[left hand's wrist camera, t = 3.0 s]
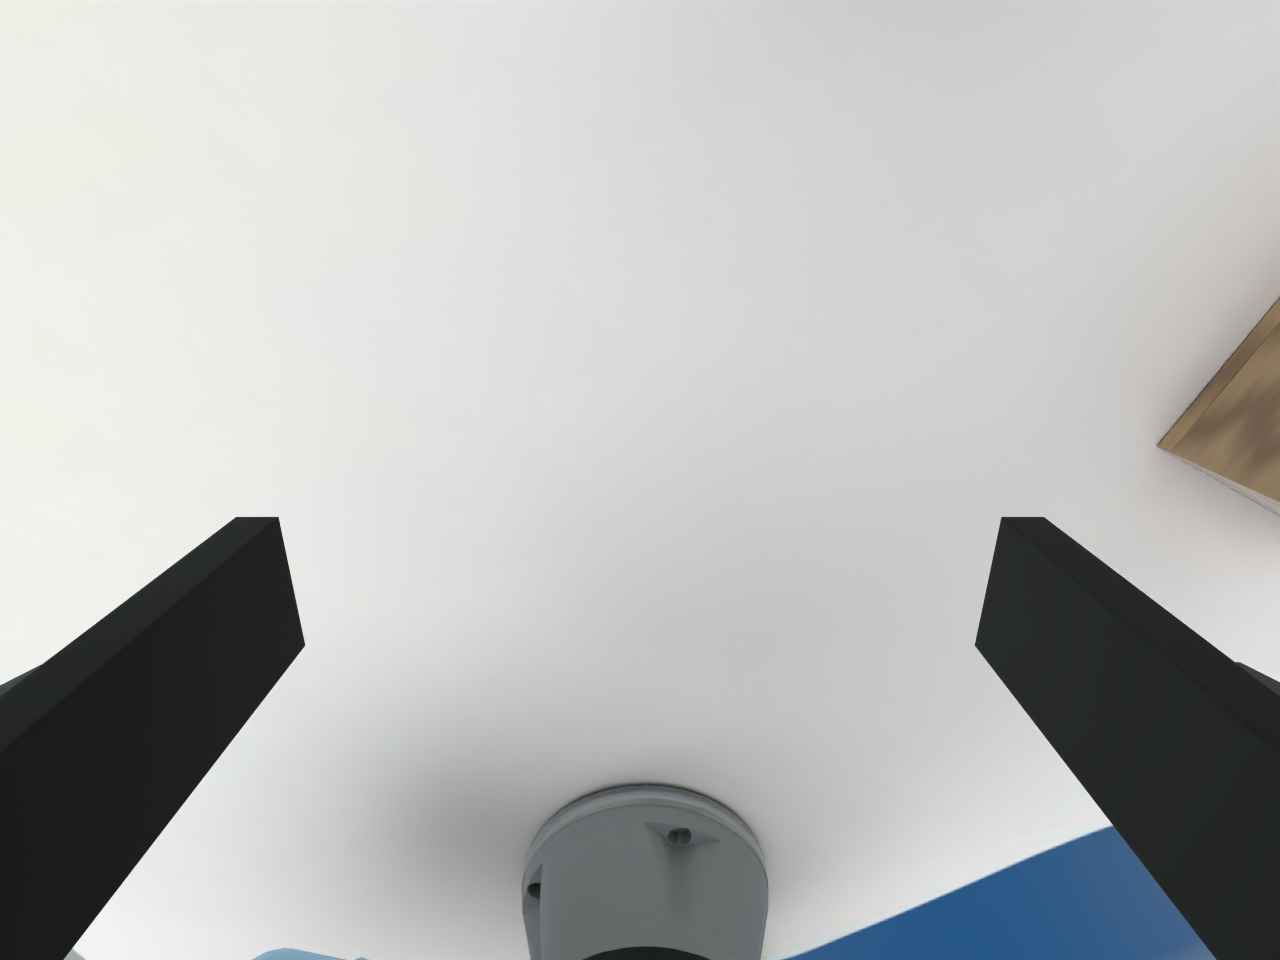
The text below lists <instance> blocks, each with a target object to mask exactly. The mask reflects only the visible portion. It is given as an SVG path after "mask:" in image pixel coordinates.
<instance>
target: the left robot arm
mask: <svg viewBox="0 0 1280 960" xmlns="http://www.w3.org/2000/svg"><path fill="white" fill-rule="evenodd" d="M304 646H305V642H304V637H303V633H302V628H301V623H300V618H299V613H298V609H297V604H296V599H295V594H294V589H293V585H292V580H291V575H290V570H289V565H288V561H287V556H286V551H285V546H284V541H283V537H282V532H281V527H280V522H279V517H236V518H234V519H233V520H232V521H230V522H229V523H228V524H226V525H225V526H224V527H223V528H221V529H220V530H219V531H217V532H216V533H215V534H213V535H212V536H211V537H209V538H208V539H207V540H205V541H204V542H203V543H201V544H200V545H199V546H198V547H196V548H195V549H194V550H192V551H191V552H190V553H188V554H187V555H186V556H184V557H183V558H182V559H180V560H179V561H178V562H176V563H175V564H174V565H173V566H171V567H170V568H169V569H167V570H166V571H165V572H163V573H162V574H161V575H159V576H158V577H157V578H155V579H154V580H153V581H151V582H150V583H149V584H148V585H146V586H145V587H144V588H142V589H141V590H140V591H138V592H137V593H136V594H134V595H133V596H132V597H130V598H129V599H128V600H126V601H125V602H124V603H122V604H121V605H120V606H119V607H117V608H116V609H115V610H113V611H112V612H111V613H109V614H108V615H107V616H105V617H104V618H103V619H101V620H100V621H99V622H97V623H96V624H95V625H94V626H92V627H91V628H90V629H88V630H87V631H86V632H84V633H83V634H82V635H80V636H79V637H78V638H76V639H75V640H74V641H72V642H71V643H70V644H69V645H67V646H66V647H65V648H63V649H62V650H61V651H59V652H58V653H57V654H55V655H54V656H53V657H51V658H50V659H49V660H47V661H46V662H45V663H44V664H42V665H40V666H38V667H36V668H34V669H32V670H30V671H28V672H26V673H24V674H22V675H20V676H18V677H16V678H14V679H12V680H10V681H8V682H6V683H4V684H2V685H0V960H63V959H64V958H65V957H66V956H67V954H68V953H69V952H70V950H71V949H72V948H73V946H74V945H75V944H76V943H77V941H78V940H79V939H80V937H81V936H82V935H83V933H84V932H85V931H86V930H87V928H88V927H89V926H90V924H91V923H92V922H93V920H94V919H95V918H96V917H97V915H98V914H99V913H100V911H101V910H102V909H103V907H104V906H105V905H106V904H107V902H108V901H109V900H110V898H111V897H112V896H113V894H114V893H115V892H116V891H117V889H118V888H119V887H120V885H121V884H122V883H123V881H124V880H125V879H126V878H127V876H128V875H129V874H130V872H131V871H132V870H133V868H134V867H135V866H136V865H137V863H138V862H139V861H140V859H141V858H142V857H143V855H144V854H145V853H146V852H147V850H148V849H149V848H150V846H151V845H152V844H153V842H154V841H155V840H156V839H157V837H158V836H159V835H160V833H161V832H162V831H163V829H164V828H165V827H166V826H167V824H168V823H169V822H170V820H171V819H172V818H173V816H174V815H175V814H176V813H177V811H178V810H179V809H180V807H181V806H182V805H183V803H184V802H185V801H186V800H187V798H188V797H189V796H190V794H191V793H192V792H193V790H194V789H195V788H196V787H197V785H198V784H199V783H200V781H201V780H202V779H203V778H204V776H205V775H206V774H207V772H208V771H209V770H210V768H211V767H212V766H213V765H214V763H215V762H216V761H217V759H218V758H219V757H220V755H221V754H222V753H223V752H224V750H225V749H226V748H227V746H228V745H229V744H230V742H231V741H232V740H233V739H234V737H235V736H236V735H237V733H238V732H239V731H240V729H241V728H242V727H243V726H244V724H245V723H246V722H247V720H248V719H249V718H250V716H251V715H252V714H253V713H254V711H255V710H256V709H257V707H258V706H259V705H260V703H261V702H262V701H263V700H264V698H265V697H266V696H267V694H268V693H269V692H270V690H271V689H272V688H273V687H274V685H275V684H276V683H277V681H278V680H279V679H280V677H281V676H282V675H283V674H284V672H285V671H286V670H287V668H288V667H289V666H290V664H291V663H292V662H293V661H294V659H295V658H296V657H297V655H298V654H299V653H300V651H301V650H302V649H303V648H304ZM975 646H976V648H977V649H978V650H979V651H980V653H981V654H982V655H983V657H984V658H985V659H986V661H987V662H988V663H989V664H990V666H991V667H992V668H993V670H994V671H995V672H996V674H997V675H998V676H999V677H1000V679H1001V680H1002V681H1003V683H1004V684H1005V685H1006V687H1007V688H1008V689H1009V690H1010V692H1011V693H1012V694H1013V696H1014V697H1015V698H1016V700H1017V701H1018V702H1019V703H1020V705H1021V706H1022V707H1023V709H1024V710H1025V711H1026V713H1027V714H1028V715H1029V716H1030V718H1031V719H1032V720H1033V722H1034V723H1035V724H1036V726H1037V727H1038V728H1039V729H1040V731H1041V732H1042V733H1043V735H1044V736H1045V737H1046V739H1047V740H1048V741H1049V742H1050V744H1051V745H1052V746H1053V748H1054V749H1055V750H1056V752H1057V753H1058V754H1059V755H1060V757H1061V758H1062V759H1063V761H1064V762H1065V763H1066V765H1067V766H1068V767H1069V768H1070V770H1071V771H1072V772H1073V774H1074V775H1075V776H1076V778H1077V779H1078V780H1079V781H1080V783H1081V784H1082V785H1083V787H1084V788H1085V789H1086V790H1087V792H1088V793H1089V794H1090V796H1091V797H1092V798H1093V800H1094V801H1095V802H1096V803H1097V805H1098V806H1099V807H1100V809H1101V810H1102V811H1103V813H1104V814H1105V815H1106V816H1107V818H1108V819H1109V820H1110V822H1111V823H1112V824H1113V826H1114V827H1115V828H1116V829H1117V831H1118V832H1119V833H1120V835H1121V836H1122V837H1123V839H1124V840H1125V841H1126V842H1127V844H1128V845H1129V846H1130V848H1131V849H1132V850H1133V851H1134V853H1135V854H1136V855H1137V857H1138V858H1139V859H1140V861H1141V862H1142V863H1143V865H1144V866H1145V867H1146V868H1147V870H1148V871H1149V872H1150V874H1151V875H1152V876H1153V878H1154V879H1155V880H1156V881H1157V883H1158V884H1159V885H1160V887H1161V888H1162V889H1163V891H1164V892H1165V893H1166V894H1167V896H1168V897H1169V898H1170V900H1171V901H1172V902H1173V904H1174V905H1175V906H1176V907H1177V909H1178V910H1179V911H1180V913H1181V914H1182V915H1183V917H1184V918H1185V919H1186V920H1187V922H1188V923H1189V924H1190V926H1191V927H1192V928H1193V930H1194V931H1195V932H1196V933H1197V935H1198V936H1199V937H1200V939H1201V940H1202V941H1203V943H1204V944H1205V945H1206V946H1207V948H1208V949H1209V950H1210V952H1211V953H1212V954H1213V955H1214V957H1215V958H1216V959H1217V960H1280V682H1278V681H1276V680H1274V679H1272V678H1270V677H1268V676H1266V675H1264V674H1262V673H1260V672H1258V671H1256V670H1254V669H1252V668H1250V667H1248V666H1246V665H1244V664H1242V663H1240V662H1234V661H1233V660H1231V659H1230V658H1229V657H1227V656H1226V655H1225V654H1223V653H1222V652H1221V651H1219V650H1218V649H1217V648H1215V647H1214V646H1213V645H1211V644H1210V643H1209V642H1208V641H1206V640H1205V639H1204V638H1202V637H1201V636H1200V635H1198V634H1197V633H1196V632H1194V631H1193V630H1192V629H1190V628H1189V627H1188V626H1186V625H1185V624H1184V623H1183V622H1181V621H1180V620H1179V619H1177V618H1176V617H1175V616H1173V615H1172V614H1171V613H1169V612H1168V611H1167V610H1165V609H1164V608H1163V607H1161V606H1160V605H1159V604H1158V603H1156V602H1155V601H1154V600H1152V599H1151V598H1150V597H1148V596H1147V595H1146V594H1144V593H1143V592H1142V591H1140V590H1139V589H1138V588H1136V587H1135V586H1134V585H1132V584H1131V583H1130V582H1129V581H1127V580H1126V579H1125V578H1123V577H1122V576H1121V575H1119V574H1118V573H1117V572H1115V571H1114V570H1113V569H1111V568H1110V567H1109V566H1107V565H1106V564H1105V563H1104V562H1102V561H1101V560H1100V559H1098V558H1097V557H1096V556H1094V555H1093V554H1092V553H1090V552H1089V551H1088V550H1086V549H1085V548H1084V547H1082V546H1081V545H1080V544H1079V543H1077V542H1076V541H1075V540H1073V539H1072V538H1071V537H1069V536H1068V535H1067V534H1065V533H1064V532H1063V531H1061V530H1060V529H1059V528H1057V527H1056V526H1055V525H1054V524H1052V523H1051V522H1050V521H1048V520H1047V519H1046V518H1044V517H1001V522H1000V527H999V532H998V537H997V541H996V546H995V551H994V556H993V561H992V565H991V570H990V575H989V580H988V585H987V589H986V594H985V599H984V604H983V609H982V613H981V618H980V623H979V628H978V633H977V637H976V642H975ZM522 909H523V917H524V923H525V929H526V935H527V941H528V947H529V953H530V959H531V960H760V958H761V952H762V945H763V939H764V932H765V926H766V919H767V913H768V881H767V876H766V870H765V865H764V860H763V856H762V852H761V849H760V847H759V844H758V842H757V841H756V839H755V837H754V835H753V834H752V832H751V831H750V830H749V828H748V827H747V826H746V825H745V824H744V823H743V822H742V821H741V820H740V819H739V818H738V817H737V816H736V815H735V814H733V813H732V812H731V811H729V810H728V809H727V808H725V807H723V806H722V805H720V804H718V803H717V802H715V801H713V800H711V799H709V798H706V797H704V796H701V795H699V794H696V793H693V792H689V791H686V790H682V789H677V788H672V787H664V786H651V785H639V786H626V787H619V788H613V789H608V790H605V791H601V792H597V793H595V794H592V795H589V796H586V797H584V798H582V799H580V800H577V801H575V802H574V803H572V804H570V805H568V806H567V807H565V808H564V809H562V810H561V811H559V812H558V813H557V814H556V815H554V816H553V817H552V818H551V819H550V820H549V821H548V822H547V823H546V824H545V825H544V826H543V827H542V829H541V830H540V831H539V833H538V834H537V835H536V837H535V839H534V841H533V842H532V845H531V847H530V849H529V852H528V856H527V860H526V866H525V871H524V877H523V884H522ZM253 960H345V959H340V958H335V957H330V956H325V955H321V954H316V953H311V952H306V951H301V950H297V949H287V948H284V949H276V950H272V951H269V952H266V953H264V954H262V955H260V956H258V957H256V958H254V959H253ZM356 960H368V959H365V958H358V959H356Z"/></svg>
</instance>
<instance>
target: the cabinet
mask: <svg viewBox="0 0 1280 960" xmlns="http://www.w3.org/2000/svg"><path fill="white" fill-rule="evenodd" d="M1158 447H1159V448H1161V449H1162V450H1164V451H1166V452H1168V453H1169V454H1171V455H1173V456H1175V457H1176V458H1178V459H1180V460H1182V461H1184V462H1185V463H1187V464H1189V465H1191V466H1192V467H1194V468H1196V469H1198V470H1199V471H1201V472H1203V473H1205V474H1206V475H1208V476H1210V477H1212V478H1214V479H1215V480H1217V481H1219V482H1221V483H1222V484H1224V485H1226V486H1228V487H1229V488H1231V489H1233V490H1235V491H1237V492H1238V493H1240V494H1242V495H1244V496H1245V497H1247V498H1249V499H1251V500H1252V501H1254V502H1256V503H1258V504H1260V505H1261V506H1263V507H1265V508H1267V509H1268V510H1270V511H1272V512H1274V513H1275V514H1277V515H1279V516H1280V298H1279V300H1278V301H1277V302H1276V303H1275V304H1274V306H1273V307H1272V308H1271V309H1270V310H1269V312H1268V313H1267V314H1266V315H1265V316H1264V318H1263V319H1262V320H1261V321H1260V323H1259V324H1258V325H1257V326H1256V327H1255V329H1254V330H1253V331H1252V332H1251V333H1250V335H1249V336H1248V337H1247V338H1246V339H1245V341H1244V342H1243V343H1242V344H1241V345H1240V347H1239V348H1238V349H1237V350H1236V352H1235V353H1234V354H1233V355H1232V356H1231V358H1230V359H1229V360H1228V361H1227V362H1226V364H1225V365H1224V366H1223V367H1222V368H1221V370H1220V371H1219V372H1218V373H1217V374H1216V376H1215V377H1214V378H1213V379H1212V381H1211V382H1210V383H1209V384H1208V385H1207V387H1206V388H1205V389H1204V390H1203V391H1202V393H1201V394H1200V395H1199V396H1198V397H1197V399H1196V400H1195V401H1194V402H1193V404H1192V405H1191V406H1190V407H1189V408H1188V410H1187V411H1186V412H1185V413H1184V414H1183V416H1182V417H1181V418H1180V419H1179V420H1178V422H1177V423H1176V424H1175V425H1174V426H1173V428H1172V429H1171V430H1170V431H1169V433H1168V434H1167V435H1166V436H1165V437H1164V439H1163V440H1162V441H1161V442H1160V443H1159V445H1158Z"/></svg>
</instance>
